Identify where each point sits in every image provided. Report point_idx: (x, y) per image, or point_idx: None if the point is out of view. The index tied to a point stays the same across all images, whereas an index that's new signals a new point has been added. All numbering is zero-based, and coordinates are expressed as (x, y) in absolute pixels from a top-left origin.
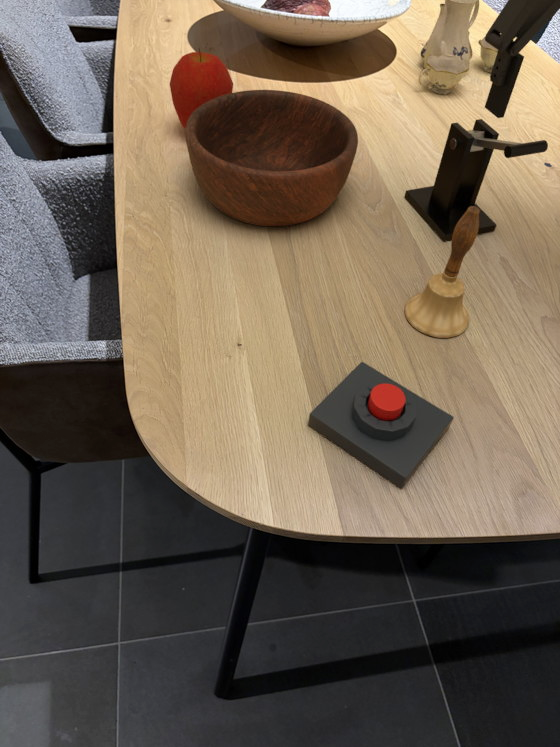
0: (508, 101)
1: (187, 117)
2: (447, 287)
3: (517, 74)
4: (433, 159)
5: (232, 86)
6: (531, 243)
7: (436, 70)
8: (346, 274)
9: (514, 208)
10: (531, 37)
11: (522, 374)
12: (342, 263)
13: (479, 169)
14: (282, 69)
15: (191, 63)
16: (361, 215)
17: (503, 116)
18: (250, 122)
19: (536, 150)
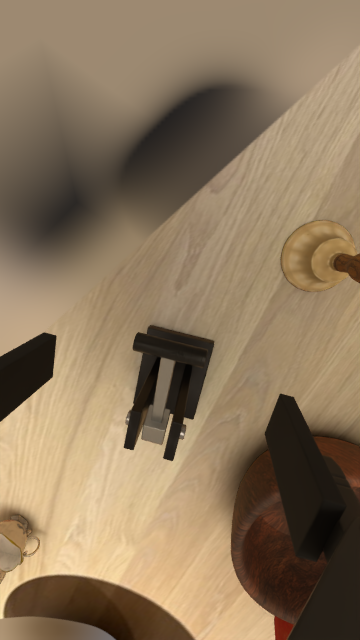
0: (289, 413)
1: None
2: (348, 252)
3: (309, 458)
4: (116, 444)
5: (283, 635)
6: (128, 289)
7: (8, 548)
8: (346, 355)
9: (98, 341)
10: (337, 562)
11: (311, 135)
12: (335, 370)
13: (152, 387)
14: (147, 621)
15: None
16: (257, 415)
17: (280, 394)
18: (296, 579)
19: (158, 338)
